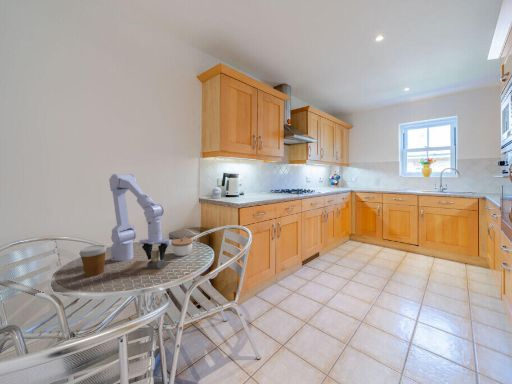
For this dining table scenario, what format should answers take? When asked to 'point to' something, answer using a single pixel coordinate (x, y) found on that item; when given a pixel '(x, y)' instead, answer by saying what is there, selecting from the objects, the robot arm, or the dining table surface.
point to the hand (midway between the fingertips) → (156, 259)
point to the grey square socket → (155, 264)
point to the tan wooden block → (155, 255)
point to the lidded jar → (182, 246)
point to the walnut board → (141, 269)
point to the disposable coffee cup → (93, 259)
